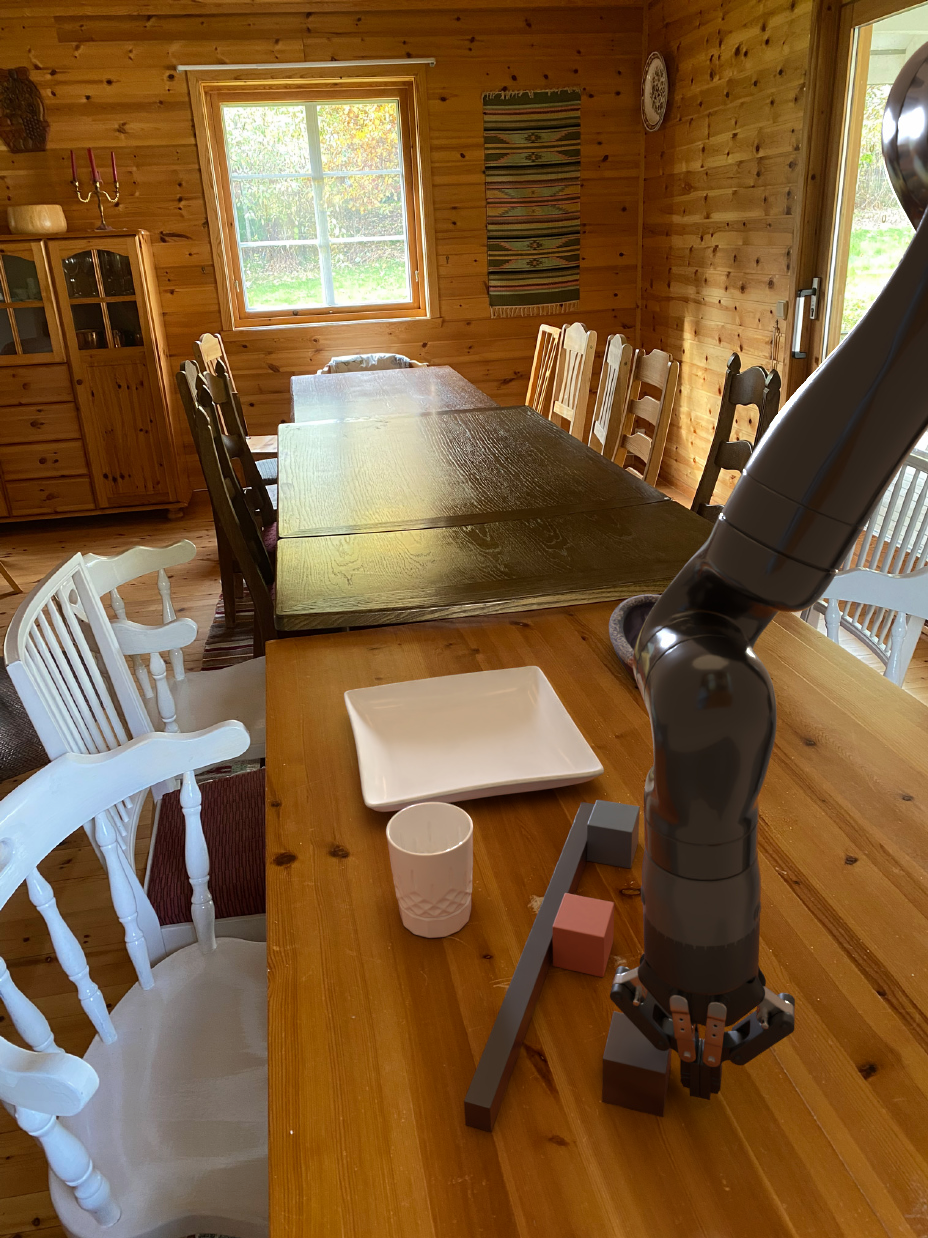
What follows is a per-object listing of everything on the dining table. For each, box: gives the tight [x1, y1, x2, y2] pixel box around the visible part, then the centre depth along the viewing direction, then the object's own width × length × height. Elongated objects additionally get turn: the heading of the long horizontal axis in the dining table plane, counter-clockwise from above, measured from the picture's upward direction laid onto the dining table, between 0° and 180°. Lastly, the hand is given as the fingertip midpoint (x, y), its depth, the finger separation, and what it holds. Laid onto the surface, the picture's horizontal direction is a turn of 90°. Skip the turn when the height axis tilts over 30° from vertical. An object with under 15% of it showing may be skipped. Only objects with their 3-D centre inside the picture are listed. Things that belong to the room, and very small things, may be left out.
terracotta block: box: [552, 893, 615, 978], centre depth 81 cm, size 4×4×4 cm
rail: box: [463, 801, 595, 1133], centre depth 82 cm, size 2×38×2 cm, turn 160°
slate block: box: [586, 799, 641, 870], centre depth 93 cm, size 4×4×4 cm
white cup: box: [385, 802, 474, 939], centre depth 85 cm, size 8×8×10 cm
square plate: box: [343, 665, 605, 813], centre depth 112 cm, size 27×27×4 cm
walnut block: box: [601, 1011, 673, 1118], centre depth 68 cm, size 4×4×4 cm
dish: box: [608, 594, 662, 679], centre depth 132 cm, size 16×31×5 cm, turn 179°
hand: (700, 1088), depth 67 cm, fingers closed
